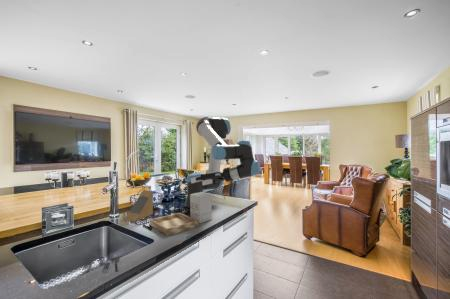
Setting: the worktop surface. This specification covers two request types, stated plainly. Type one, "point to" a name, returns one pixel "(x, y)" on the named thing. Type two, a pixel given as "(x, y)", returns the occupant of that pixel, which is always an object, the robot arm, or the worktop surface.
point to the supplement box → (201, 206)
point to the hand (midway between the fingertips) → (197, 182)
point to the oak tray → (173, 223)
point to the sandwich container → (141, 207)
